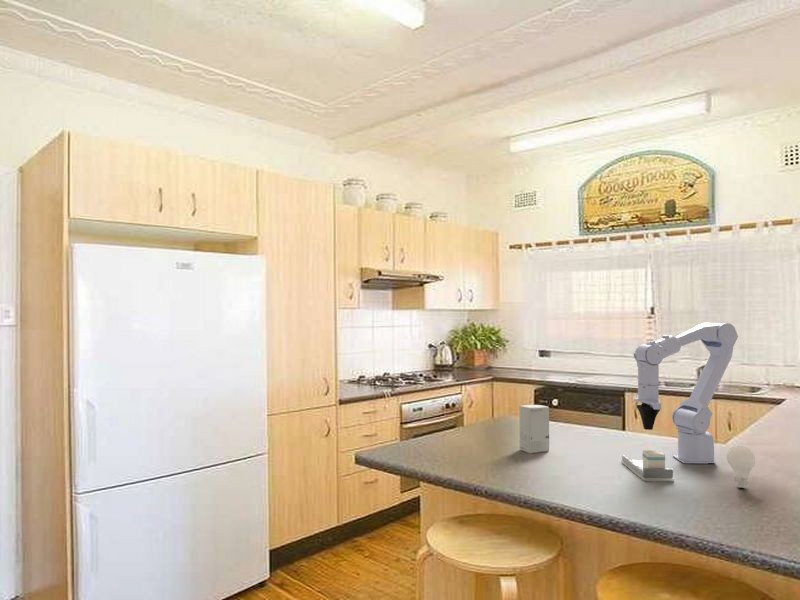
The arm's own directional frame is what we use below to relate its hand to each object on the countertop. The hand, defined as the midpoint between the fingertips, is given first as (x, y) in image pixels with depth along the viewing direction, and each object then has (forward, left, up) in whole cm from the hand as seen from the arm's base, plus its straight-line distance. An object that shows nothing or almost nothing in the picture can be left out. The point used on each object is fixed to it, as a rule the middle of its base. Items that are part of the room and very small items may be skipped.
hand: (648, 429), depth 166 cm
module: (+3, +13, -10) cm, 16 cm away
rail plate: (+4, +8, -10) cm, 14 cm away
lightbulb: (-15, +22, -11) cm, 29 cm away
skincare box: (+32, -14, -11) cm, 36 cm away
